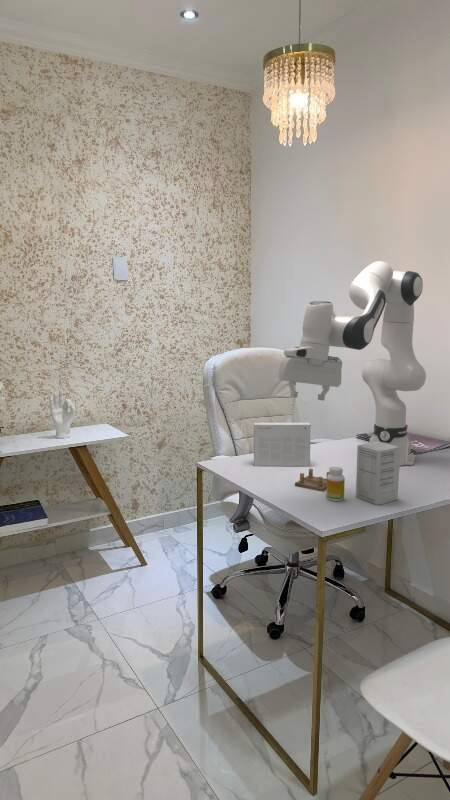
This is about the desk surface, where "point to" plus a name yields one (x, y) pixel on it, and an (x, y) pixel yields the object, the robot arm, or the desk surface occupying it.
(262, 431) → the skincare box
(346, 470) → the desk surface
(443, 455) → the desk surface
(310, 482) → the pin stand
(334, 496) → the supplement bottle
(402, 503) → the desk surface
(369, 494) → the supplement box
